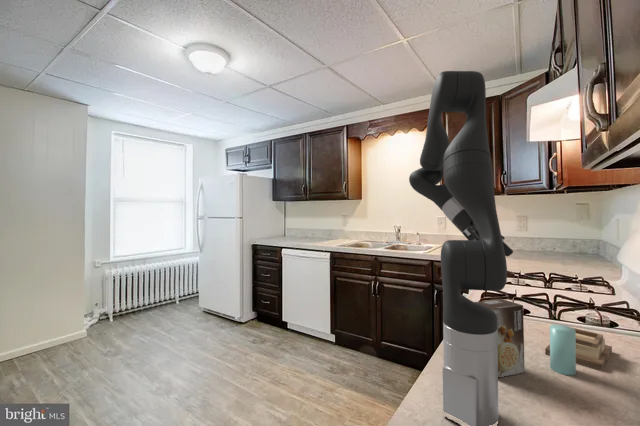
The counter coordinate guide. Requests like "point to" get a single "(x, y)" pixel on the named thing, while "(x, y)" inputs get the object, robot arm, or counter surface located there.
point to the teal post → (563, 349)
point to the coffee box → (508, 335)
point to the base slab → (593, 344)
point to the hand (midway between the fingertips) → (504, 256)
